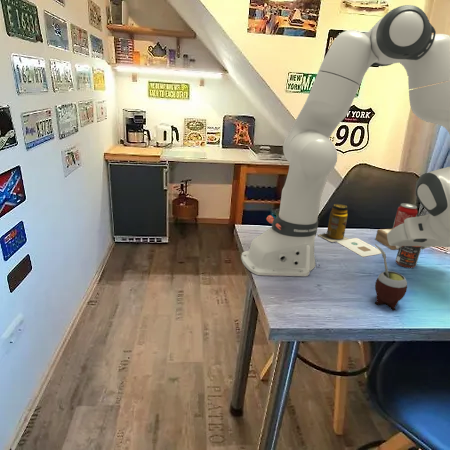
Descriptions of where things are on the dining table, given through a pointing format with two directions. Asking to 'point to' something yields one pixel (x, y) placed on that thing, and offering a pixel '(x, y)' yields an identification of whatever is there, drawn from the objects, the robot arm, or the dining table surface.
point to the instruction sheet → (359, 247)
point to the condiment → (336, 223)
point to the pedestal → (384, 238)
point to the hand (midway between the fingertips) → (408, 246)
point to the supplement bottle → (408, 256)
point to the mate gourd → (389, 286)
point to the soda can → (405, 213)
